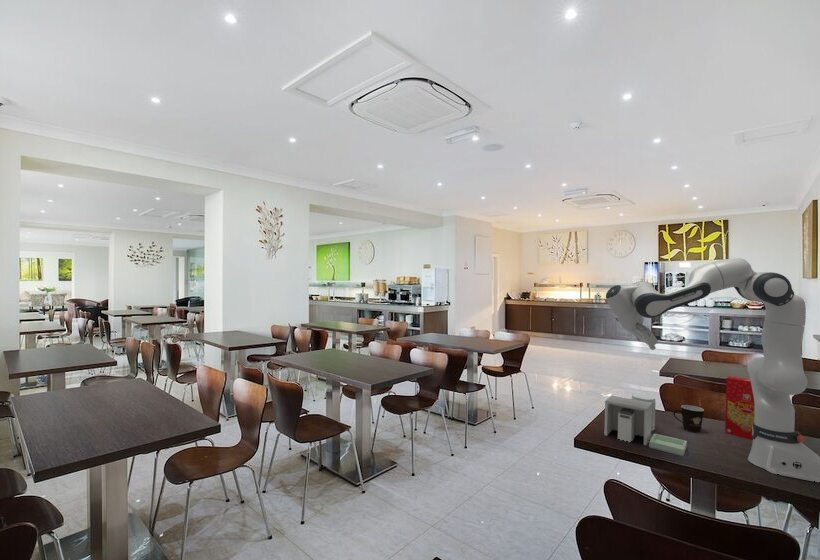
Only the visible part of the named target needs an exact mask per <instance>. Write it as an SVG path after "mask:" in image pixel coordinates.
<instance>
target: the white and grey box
mask: <svg viewBox="0 0 820 560" xmlns="http://www.w3.org/2000/svg"><path fill="white" fill-rule="evenodd" d="M633 411H634V410H631V409H626V408H623V409H622V410H621V411H620V412H619V413H618V431H617V440H618V439H620V440H619V441H622V440H624V441H623V442H626V441H628V443H630V442H631V441H632V442H633V441H634V439H635V435H634V433H635V412H633ZM632 442H631V443H632Z"/></svg>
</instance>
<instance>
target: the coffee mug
mask: <svg viewBox="0 0 820 560" xmlns="http://www.w3.org/2000/svg"><path fill="white" fill-rule="evenodd" d="M680 409H681V410H680ZM680 409H675V410H674V411H673V417H674V418H675V419H676V420H677V421H679V422H681V423H682V428H683V430H684V429H685V431H686V430H687V431H686V432H689V433H697V434H698V433H701V431H702V424H703V418H704V412H705V409H704V408H702V407H699V406H696V405H691V404H690V405H688V404H685V405H684V404H682V405H681V406H680ZM676 412H680V413H681V417H682V420H680V419H679V418H678V417H677V416H676Z"/></svg>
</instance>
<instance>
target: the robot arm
mask: <svg viewBox="0 0 820 560" xmlns="http://www.w3.org/2000/svg"><path fill="white" fill-rule="evenodd" d="M688 277H689V279H688V284H686V285H685V286H683V287H681V288H678V289H675V290H672V291H669V292H666V293H660V292H658V291H657V289H655V287H654V286H653V284H651V282H648V281H642V280H641V281H636V282H635V283H631V284H628V285H621V284H620V285H619V284H615V285H614V286H611V288H609V289H608V290H607V291H606V295H605V299H606V303H607V305H608V306H609V308H610V310H611V311H612V313H613V314H615V316H614V319H615V320H616V321H617V322H618V323H619V324H620V326H621V327H622V328H623V329H624V330H626V331H627V332H629V333H630V334H632V335H633V336H634V337H635V338H636V340H637V341H639V342H643V343H644V344H646V345H647V346H648V347H649V349H650V350H651V351H654V350H656V346H655V345H657V344H658V343H659V340H658V339H657V337H656V336H655V335H654V333H653V332H652V330H651V329H650V328H648V326H646V325H644V321H645V318H646V319H647V318H648V319H654V318H657V317H660V316H662V315H663V314H665V313H666V312H668V311H671V310H673V309H677V308H679V307H682V306H685V305H687V304H691V303H695V302H697V301H700V300H702V299H705V298H706V297H707V296H709V295H710V294H713V293H715V292H718V291H722V290H726V289H729V288H734V289H735V291H736V292H737V294H739V296H740V297H742V298H743V299H745V300H747V301H751V302H756V303H763V305H764V308H765V315H764V321H763V325H762V327H763V328H762V331H761V337H760V343H761V346H762V349H763V356H762V357H761V356H760V357H755V358H753V359H750V360H751V361H749V362H748V364H747V366H746V367H747V368H746V369H747V373H748V375H749V379H750V380H751V385H752V391H753V396H754V403H755V413H754V423H753V426H752V436H753V440H752V444H751V448H750V452H749V454H748V457H747V461H748V462H750V463H751V464H753V465H754V466H757V467H758V468H760V469H764V470H766V471H767V472H769V473H771V474H773V475H777V474H779V475H778V476H782V477H789V478H794V479H798V480H805V481H809V482H814V481H815V482H814V483H819V482H820V456H819V455H818V454H817V453H816V452H814V451H813V450H812V449H811V448H809V447H808V446H807V445H805V444H804V442H805V441H806V438H805V436H803V435H802V433H800V432H799V431H796V430H795V421H796V420H795V419H796V417H795V414H796V413H795V412H796V410H795V406H794V405H793V403H792V399H791V397H790V396H796V395H799V394H801V393H803V392H804V391H805V390H806V389H807V387H808V382H809V381H808V378H807V376H806V374H805V371H804V363H803V353H802V346H803V345H802V344H803V340H804V339H803V338H804V333H805V326H806V320H807V319H806V318H807V317H806V315H807V311H806V302H805V300H804V299H803V298H802V297H800V296H799V295H796V294H795V291H794V290H793V286H792V283H791V281H790V280H789V279H788V277H786V276H784V275H783V274H781V273H778V272H771V271H770V272H767V271H763V272H756V271H754V270H753V268H752V266H751V264H750V263H749V261H747V260H746V259H744V258H741V257H737V258H727V259H721V260H716V261H711V262H709V263H704V264H702V265H698V266H697V267H695V268H693V270H692V271H691V272H690V274H689V276H688Z"/></svg>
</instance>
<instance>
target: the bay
mask: <svg viewBox="0 0 820 560" xmlns="http://www.w3.org/2000/svg"><path fill="white" fill-rule="evenodd" d="M623 408H626V409H631V410H634V411H633V412H635V433H634V436H638V435H639V437H642V436H643V445H644V446H647V445H649V440H650V439H651V438H652V431H651V424H652V403H649V402H644V401H639V400H633V399H632V398H626V397H622V396H616V395H610V396H609V397H608V398H607V399H605V400H604V432H603V433H604V434H603V435H604V436H606V437H607V436H608V435H609V434H610V433H611V432H612V431H617V432H618V413H619V412H620V411H621V410H622V409H623Z"/></svg>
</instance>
